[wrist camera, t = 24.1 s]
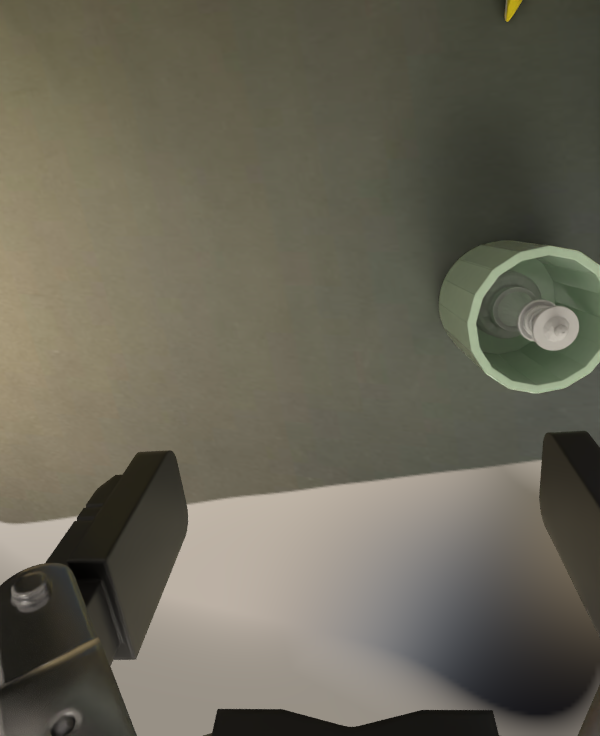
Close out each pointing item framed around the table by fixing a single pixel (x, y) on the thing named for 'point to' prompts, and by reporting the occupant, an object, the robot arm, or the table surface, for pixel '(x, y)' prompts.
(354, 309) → the table surface
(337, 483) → the table surface
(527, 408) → the table surface
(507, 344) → the glazed cup
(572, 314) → the chess piece
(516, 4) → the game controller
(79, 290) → the table surface
